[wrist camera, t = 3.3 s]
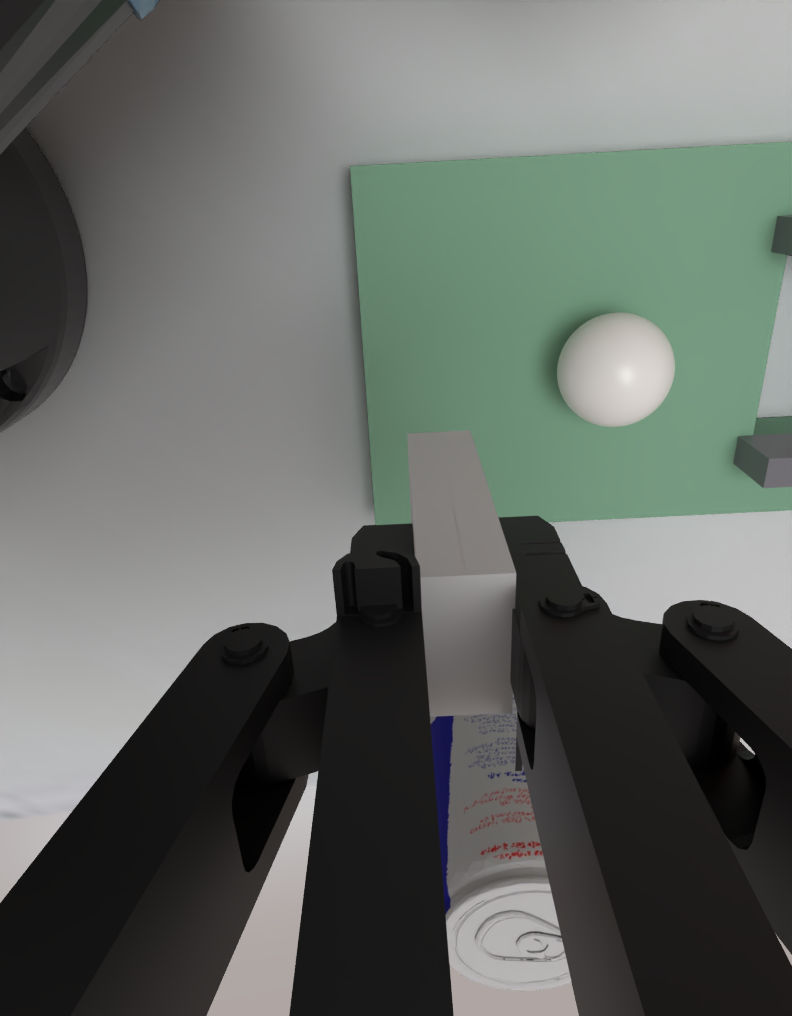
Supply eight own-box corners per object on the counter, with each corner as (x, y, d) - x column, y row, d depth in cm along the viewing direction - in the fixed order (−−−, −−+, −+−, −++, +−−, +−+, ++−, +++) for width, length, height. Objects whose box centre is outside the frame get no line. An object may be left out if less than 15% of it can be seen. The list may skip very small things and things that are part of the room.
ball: (544, 410, 27) (568, 445, 23) (549, 306, 25) (575, 327, 22) (645, 405, 27) (685, 439, 23) (657, 300, 25) (702, 320, 22)
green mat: (376, 510, 31) (375, 530, 29) (352, 167, 25) (350, 166, 23) (906, 484, 31) (938, 502, 29) (1013, 130, 25) (1063, 126, 23)
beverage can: (405, 613, 33) (416, 906, 20) (516, 585, 33) (606, 868, 19) (434, 698, 36) (462, 1011, 22) (538, 673, 35) (632, 981, 22)
